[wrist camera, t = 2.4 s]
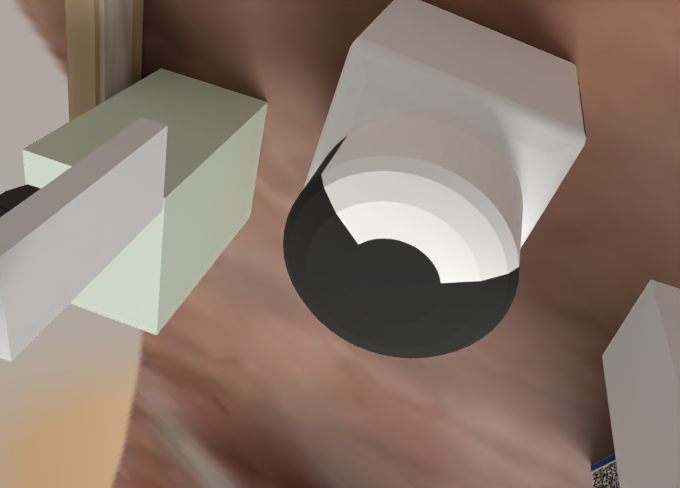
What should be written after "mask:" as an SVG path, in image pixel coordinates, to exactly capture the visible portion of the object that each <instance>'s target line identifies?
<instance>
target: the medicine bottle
mask: <svg viewBox="0 0 680 488" xmlns="http://www.w3.org/2000/svg"><path fill="white" fill-rule="evenodd" d="M585 142H586V132H585V125H584V117H583V110H582V102H581V94H580V87H579V79H578V72H577V68H576V66H575V65H574V64H573V63H571V62H569V61H566V60H564V59H561V58H559V57H557V56H554V55H552V54H549V53H547V52H545V51H542V50H540V49H537V48H535V47H533V46H530V45H528V44H525V43H523V42H520V41H518V40H516V39H513V38H511V37H508V36H506V35H504V34H501V33H499V32H496V31H494V30H491V29H489V28H487V27H484V26H482V25H479V24H477V23H475V22H472V21H470V20H467V19H465V18H462V17H460V16H458V15H455V14H453V13H450V12H448V11H446V10H443V9H441V8H438V7H436V6H434V5H431V4H429V3H426V2H424V1H421V0H393V1H392V2H391V3H390V4H389V5H388V6H387V7H386V8H385V9H384V11H383V12H382V13H381V14H380V15H379V16H378V17H377V18H376V19H375V20H374V21H373V22H372V23H371V24H370V25H369V26H368V27H367V28H366V29H365V30H364V31H363V32H362V33H361V34H360V35H359V36H358V37H357V38H356V40H355V41H354V42H353V43H352V45H351V46H350V49H349V52H348V55H347V58H346V61H345V64H344V67H343V70H342V73H341V76H340V79H339V82H338V85H337V88H336V91H335V94H334V97H333V100H332V103H331V106H330V109H329V112H328V115H327V118H326V121H325V124H324V127H323V130H322V133H321V136H320V139H319V142H318V145H317V148H316V151H315V154H314V157H313V160H312V163H311V166H310V169H309V172H308V175H307V178H306V181H305V184H304V187H303V190H302V192H301V193H300V195H299V196H298V198H297V200H296V201H295V203H294V204H293V206H292V208H291V211H290V213H289V215H288V218H287V221H286V226H285V230H284V240H283V248H284V259H285V263H286V267H287V271H288V274H289V276H290V279H291V281H292V284H293V286H294V287H295V289H296V291H297V293H298V295H299V296H300V298H301V299H302V300H303V302H304V303H305V304H306V306H307V307H308V308H309V310H310V311H311V312H312V313H313V314H314V315H315V316H316V318H317V319H318V320H319V321H320V322H321V323H323V324H324V325H325V326H326V327H327V328H328V329H330V330H331V331H332V332H334V333H335V334H337V335H338V336H340V337H341V338H343V339H344V340H346V341H348V342H350V343H352V344H354V345H356V346H358V347H361V348H363V349H366V350H368V351H371V352H375V353H378V354H382V355H387V356H392V357H401V358H425V357H432V356H439V355H443V354H447V353H451V352H454V351H457V350H460V349H462V348H465V347H467V346H470V345H471V344H473V343H475V342H476V341H478V340H480V339H481V338H483V337H484V336H485V335H487V334H488V333H489V332H490V331H492V330H493V329H494V328H495V327H496V325H497V324H498V323H499V322H500V321H501V320H502V319H503V317H504V316H505V314H506V313H507V311H508V309H509V308H510V306H511V303H512V301H513V299H514V296H515V293H516V289H517V285H518V279H519V264H520V249H521V247H522V246H523V244H524V242H525V241H526V239H527V237H528V236H529V234H530V233H531V231H532V229H533V228H534V226H535V224H536V223H537V221H538V220H539V218H540V216H541V215H542V213H543V212H544V210H545V208H546V207H547V205H548V203H549V202H550V200H551V199H552V197H553V195H554V194H555V192H556V190H557V189H558V187H559V186H560V184H561V182H562V181H563V179H564V178H565V176H566V174H567V173H568V171H569V169H570V168H571V166H572V165H573V163H574V161H575V160H576V158H577V156H578V155H579V153H580V152H581V150H582V148H583V147H584V145H585Z"/></svg>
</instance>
